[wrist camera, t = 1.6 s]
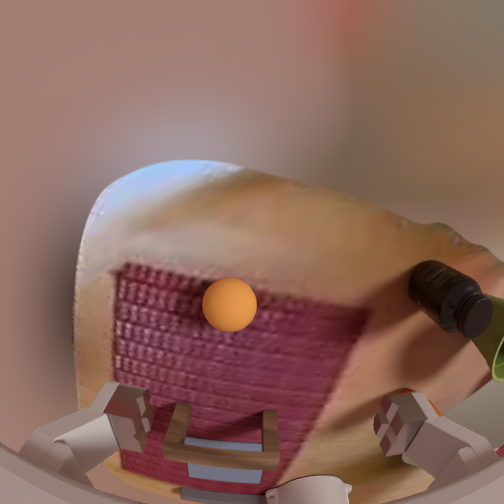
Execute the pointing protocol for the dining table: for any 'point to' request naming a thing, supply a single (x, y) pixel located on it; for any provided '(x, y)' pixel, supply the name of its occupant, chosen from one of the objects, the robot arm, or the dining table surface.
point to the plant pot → (493, 340)
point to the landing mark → (224, 473)
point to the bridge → (221, 457)
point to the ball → (229, 304)
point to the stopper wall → (220, 497)
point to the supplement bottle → (450, 299)
